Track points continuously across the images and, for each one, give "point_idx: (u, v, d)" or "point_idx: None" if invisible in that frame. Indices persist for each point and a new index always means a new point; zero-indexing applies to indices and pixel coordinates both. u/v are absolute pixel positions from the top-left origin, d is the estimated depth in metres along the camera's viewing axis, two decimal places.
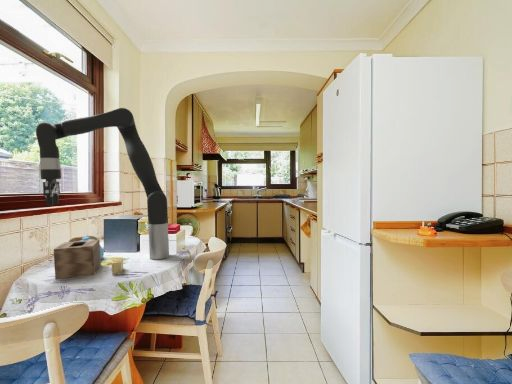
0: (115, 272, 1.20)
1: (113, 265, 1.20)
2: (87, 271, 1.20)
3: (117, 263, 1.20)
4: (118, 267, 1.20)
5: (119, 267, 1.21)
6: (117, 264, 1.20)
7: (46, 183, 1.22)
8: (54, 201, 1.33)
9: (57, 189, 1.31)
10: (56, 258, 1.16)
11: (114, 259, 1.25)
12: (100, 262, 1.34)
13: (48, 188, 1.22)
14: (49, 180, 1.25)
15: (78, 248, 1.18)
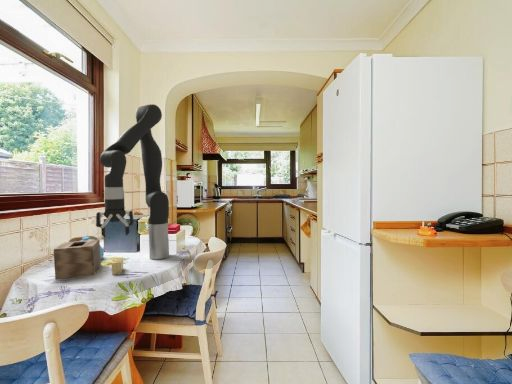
0: (115, 272, 1.20)
1: (113, 265, 1.20)
2: (87, 271, 1.20)
3: (117, 263, 1.20)
4: (118, 267, 1.20)
5: (119, 267, 1.21)
6: (117, 264, 1.20)
7: (132, 212, 1.25)
8: (105, 233, 1.21)
9: None
10: (56, 258, 1.16)
11: (114, 259, 1.25)
12: (100, 262, 1.34)
13: None
14: (124, 209, 1.24)
15: (78, 248, 1.18)
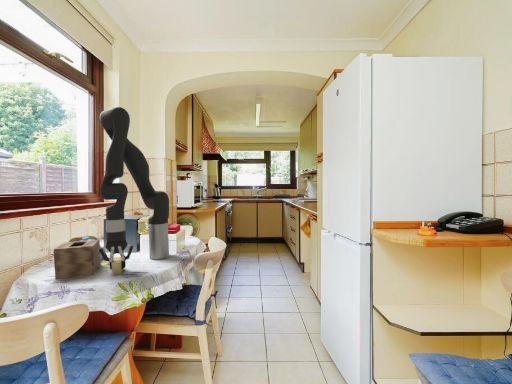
0: (115, 272, 1.20)
1: (113, 265, 1.20)
2: (87, 271, 1.20)
3: (117, 263, 1.20)
4: (119, 267, 1.20)
5: (119, 267, 1.20)
6: (117, 264, 1.20)
7: None
8: None
9: None
10: (56, 258, 1.16)
11: (114, 258, 1.25)
12: (100, 262, 1.34)
13: None
14: None
15: (78, 248, 1.18)
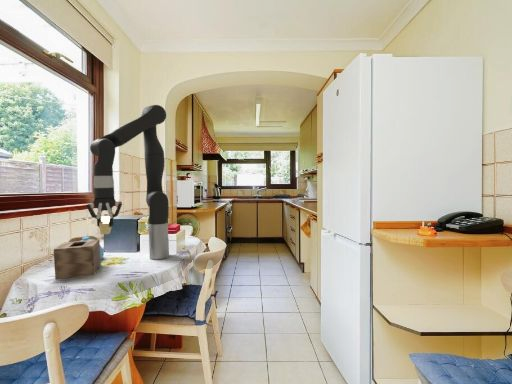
0: (103, 232, 1.20)
1: (101, 225, 1.19)
2: (87, 271, 1.20)
3: (105, 223, 1.19)
4: (106, 228, 1.20)
5: (107, 227, 1.20)
6: (105, 224, 1.19)
7: (121, 205, 1.25)
8: None
9: None
10: (56, 258, 1.16)
11: (102, 218, 1.23)
12: (100, 262, 1.34)
13: (119, 209, 1.25)
14: None
15: (78, 248, 1.18)
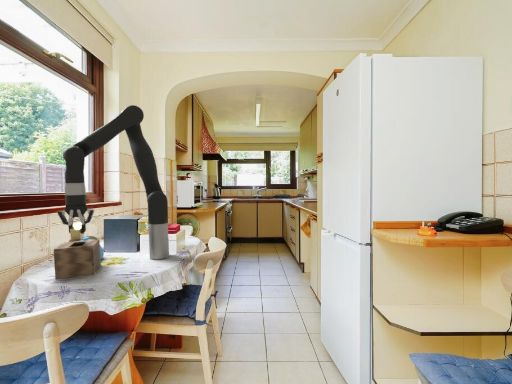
0: (74, 238, 1.21)
1: (72, 232, 1.20)
2: (87, 271, 1.20)
3: (76, 230, 1.21)
4: (77, 234, 1.21)
5: (78, 234, 1.21)
6: (76, 231, 1.21)
7: (93, 211, 1.26)
8: None
9: None
10: (56, 258, 1.16)
11: (74, 224, 1.25)
12: (100, 262, 1.34)
13: None
14: None
15: (78, 248, 1.18)
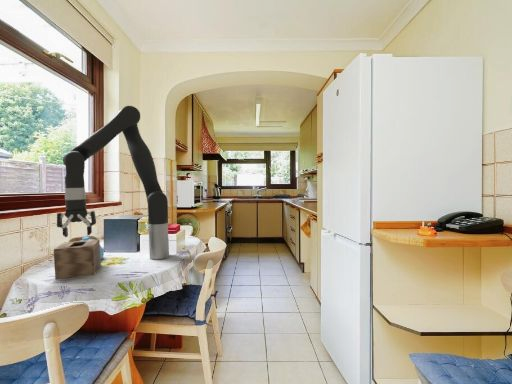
0: None
1: None
2: (87, 271, 1.20)
3: None
4: None
5: None
6: None
7: (94, 212, 1.26)
8: (66, 233, 1.23)
9: None
10: (56, 258, 1.16)
11: None
12: (100, 262, 1.34)
13: (95, 217, 1.27)
14: (86, 210, 1.25)
15: (78, 248, 1.18)
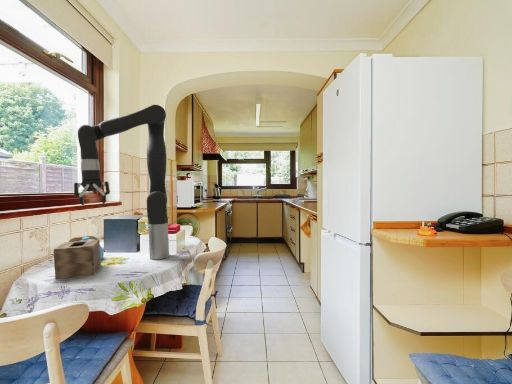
0: None
1: None
2: (87, 271, 1.20)
3: None
4: None
5: None
6: None
7: (108, 182, 1.36)
8: (83, 202, 1.32)
9: None
10: (56, 258, 1.16)
11: None
12: (100, 262, 1.34)
13: None
14: (100, 180, 1.35)
15: (78, 248, 1.18)
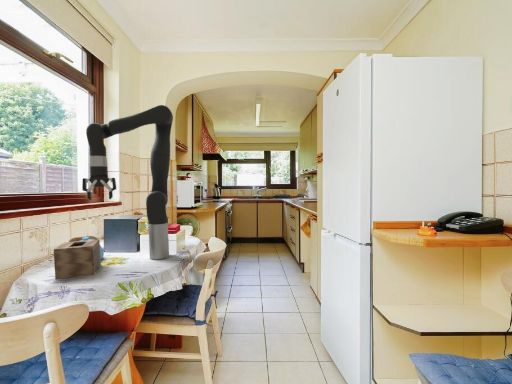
0: None
1: None
2: (87, 271, 1.20)
3: None
4: None
5: None
6: None
7: None
8: (90, 197, 1.37)
9: None
10: (56, 258, 1.16)
11: None
12: (100, 262, 1.34)
13: (115, 183, 1.42)
14: None
15: (78, 248, 1.18)
